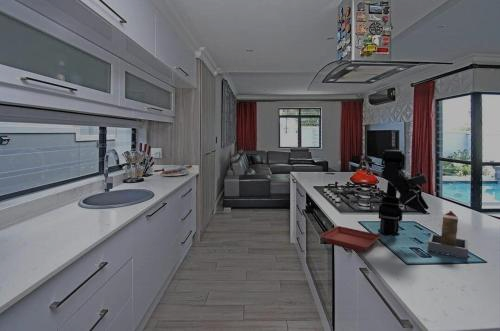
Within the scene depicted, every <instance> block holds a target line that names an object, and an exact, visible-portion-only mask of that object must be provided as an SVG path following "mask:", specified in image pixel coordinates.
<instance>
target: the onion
mask: <svg viewBox="0 0 500 331" xmlns="http://www.w3.org/2000/svg"><path fill="white" fill-rule="evenodd" d="M444 215H449V216H456V217H458V216H457V214H455V213H454V212H453V211H452V210H450V211H449V212H446V213H445V214H444Z"/></svg>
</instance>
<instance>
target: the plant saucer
mask: <svg viewBox="0 0 500 331" xmlns="http://www.w3.org/2000/svg"><path fill="white" fill-rule="evenodd" d="M319 237H320V238H321V239H322V240H323V241H324V242H325V243H326V244H328V245H332V246H336V247H341V248H343V249H349V250H352V251H355V252H359V253H364V252H365V251H366V250H368V249H369V248H370V247H371V246H372V245H373V246H374V244H375V243H376V242H377V241H378V240H379V239H380V238H381V237H382V235H381V234H377V233H372V232H369V231H363V230H359V229H354V228H349V227H346V226H345V227H344V226H339V225H337V226H335V227H333V228H331V229H330V230H329V229H328V231H325V232H324V233H321V234H320V235H319Z"/></svg>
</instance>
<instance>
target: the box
mask: <svg viewBox="0 0 500 331" xmlns="http://www.w3.org/2000/svg"><path fill="white" fill-rule="evenodd" d="M441 236H442V234H435V233H430V237H429V239H428V243H427V245H428V246H427V251H428V252H430V251H432V252H431V253H434V252H438V253H437V254H439V253H443V254H442V255H444V254H449V255H453V256H458V257H462V258H461V259H463V258H466V259H465V260H468V257H469V256H468V255H469V253H468V252H469V242H468V239H462V238H458V237H456V245H455V246H451V245H446V244H441ZM449 255H448V256H449ZM453 256H452V257H453ZM458 257H457V258H458Z"/></svg>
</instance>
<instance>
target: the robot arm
mask: <svg viewBox="0 0 500 331" xmlns="http://www.w3.org/2000/svg"><path fill="white" fill-rule="evenodd" d="M380 165H381V166H382V167H383V168H382V169H383V170H382V175H381V176H382V177H383V178H384V179H385V180H386V181H387V187H386V195H385V196H383V197H382V199H381V202H380V204H379V207H378V219H379V220H380V221H379V222H380V223H379V224H380V225H379V228H378V229H377V231H378V232H380V233H382V234H383V235H385V236H400V233H399V228H400V227H399V226H400V223H399V222H401V221H403V213H404V211H403V210H402V207H401V206H400V204H401V205H404V206H406V207H408V208H411V209H413V210H414V211H415V210H416V212H419V213H421V214H423V215H426V214H427V212H428V211H427V210H428V209H429V208H430V207H429V206H428V203H427V202H426V201H425V199H424V197H423V196H422V194H423V192H422V191H423V188H422V187H421V186H420V185H422V184H426V183H428V179H427V176H426V174H425V173H423V174H422V173H421V172H416V173H415V174H414V176H413V177H410V178H409V176H406V175H405V174H403V171H405V166H406V154H405V153H403V150H400V149H384V152H382V158H381V164H380ZM397 194H399V197H397Z"/></svg>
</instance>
